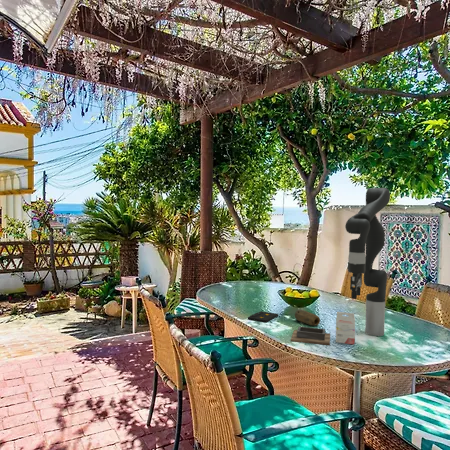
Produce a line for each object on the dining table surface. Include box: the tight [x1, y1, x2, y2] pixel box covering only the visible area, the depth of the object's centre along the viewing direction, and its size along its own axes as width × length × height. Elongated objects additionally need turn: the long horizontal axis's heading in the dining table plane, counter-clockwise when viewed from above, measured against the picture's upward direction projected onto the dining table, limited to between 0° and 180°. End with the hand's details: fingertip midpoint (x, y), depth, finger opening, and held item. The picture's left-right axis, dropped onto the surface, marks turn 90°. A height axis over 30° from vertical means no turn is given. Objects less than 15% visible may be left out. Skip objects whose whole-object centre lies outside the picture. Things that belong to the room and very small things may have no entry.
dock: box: [290, 326, 331, 346], centre depth 191 cm, size 16×18×4 cm
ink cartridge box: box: [335, 311, 356, 345], centre depth 187 cm, size 9×5×15 cm, turn 68°
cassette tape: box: [247, 310, 279, 324], centre depth 228 cm, size 18×12×2 cm, turn 149°
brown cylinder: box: [294, 309, 321, 327], centre depth 218 cm, size 15×7×7 cm, turn 38°
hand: (355, 296), depth 180 cm, fingers open, 8 cm apart
